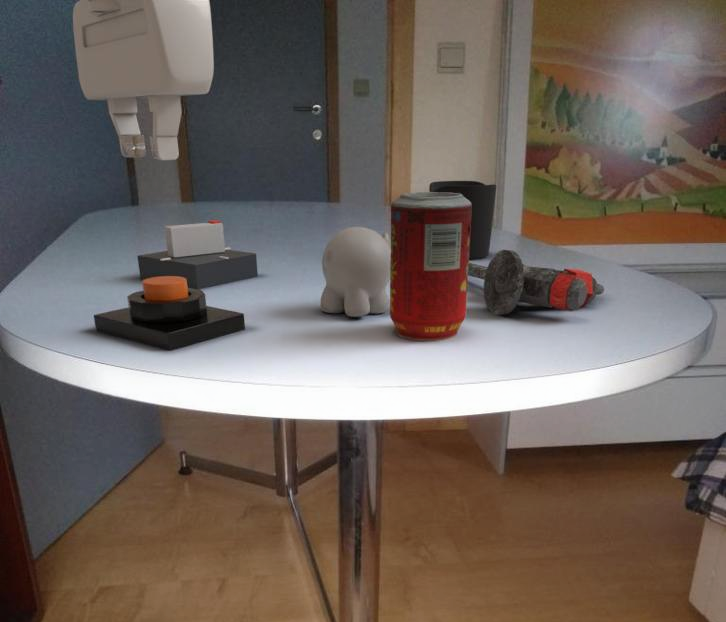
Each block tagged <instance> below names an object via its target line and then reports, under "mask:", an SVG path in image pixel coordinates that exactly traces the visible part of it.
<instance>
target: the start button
mask: <svg viewBox="0 0 726 622" xmlns="http://www.w3.org/2000/svg"><path fill="white" fill-rule="evenodd" d="M141 283H142V284H141V285H142V291H144V298H145V299H146V300H159V301H165V300H176V299H181V298H186V297H189V296H188V287H187V279H186V278H184V277H178V276H161V277H153V278H148V279H145V280H144V279H142V282H141Z"/></svg>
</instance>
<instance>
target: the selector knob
mask: <svg viewBox="0 0 726 622" xmlns="http://www.w3.org/2000/svg"><path fill="white" fill-rule="evenodd" d="M164 235H165V242H166V249H167V250H166V251H168V256H170V257H173V258H177V257H186V256H195V255H203V254H212V253H221V252H225V248H226V245H225V236H224V235H225V234H224V225H223V223H222V222H221V221H220V220H217V219H213V220H207V222H200V223H199V222H198V223H188V224H178V225H167V226H166V225H165V226H164Z"/></svg>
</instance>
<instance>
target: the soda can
mask: <svg viewBox="0 0 726 622" xmlns="http://www.w3.org/2000/svg"><path fill="white" fill-rule="evenodd" d="M471 216H472V204H471V202H470V201H469V200H468V199H466V198H465V197H464V196H463V195H462V194H460V193H447V192H440V193H439V192H429V191H419V192H414V193H411V192H407V193H406V192H405V193H402V194H400V195H399V196H398V197H397V198H395V199H394V200H393V201H392V203H391V205H390V239H391V260H390V280H389V316H390V319H391V321H392V323H393V324H394V327H395V329H396V334H397V336H399V337H401V338H403V339H408V340H413V341H420V342H421V341H422V342H434V341H435V342H436V341H437V342H438V341H444V340H445V341H446V340H450V339H453V338H455V337H457V335H458V332H459V329H460V328H461V326H462V324H463V323H464V321H465V319H466V315H467V298H468V284H469V283H468V281H469V276H468V267H469V263H470V260H469V250H470V233H471Z"/></svg>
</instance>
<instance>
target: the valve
mask: <svg viewBox="0 0 726 622" xmlns="http://www.w3.org/2000/svg"><path fill="white" fill-rule="evenodd" d="M468 277H473V278H475V279H480V280H483V281H484V282H483V296H484V297H483V298H484V301H485V304H486V305H485V306H486V307H487V309H488V311H489V312H490V313H492V314H494V315H496V316H507V315H508V314H510V313H512V312H513V310H515V308H516V307H517V305H518V303H521V304H522V303H523V304H531V305H535V306H541V307H546V308H549V309H552V308H554V309H556V310H561V311H566V312H573V311H576V310H578V309H583V308H584V307H585V306H586V305H587V304H589V303H591V302H592V301H594V299H595V298H596V297H597V295H603V294H604V292H605V288H604V286H603V285H602V284H600V283H598V282H597V280H596V278H595V277H593V273H590V272H587V271H585V270H580V269H576V268H575V269H574V268H564V269H563V270H559V269H555V268H548V267H538V266H527V265H525V264H524V263H523V262H522V260H521V257H520V255H519V254H518V253H517V252H516V251H514V250H511V249H501V250H499V251H498V252H496V253H495V254H494V255H493V257H492V258H491V259H490V261H489V263H488V265H487V266H484V265H481V264H476V263H472V262H469V267H468Z"/></svg>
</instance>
